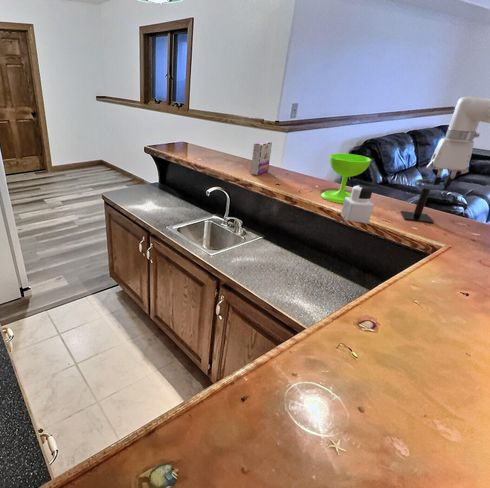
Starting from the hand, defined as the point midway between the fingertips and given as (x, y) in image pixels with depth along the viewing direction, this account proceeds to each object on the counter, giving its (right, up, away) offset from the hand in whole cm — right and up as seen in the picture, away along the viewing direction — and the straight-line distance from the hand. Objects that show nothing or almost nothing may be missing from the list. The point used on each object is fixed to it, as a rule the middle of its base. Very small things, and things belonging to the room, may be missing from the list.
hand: (439, 187), depth 127 cm
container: (-28, -12, +7) cm, 31 cm away
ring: (-3, +1, +1) cm, 4 cm away
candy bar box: (-48, +18, +65) cm, 83 cm away
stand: (-4, -11, +7) cm, 14 cm away
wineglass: (-22, 0, +29) cm, 37 cm away
